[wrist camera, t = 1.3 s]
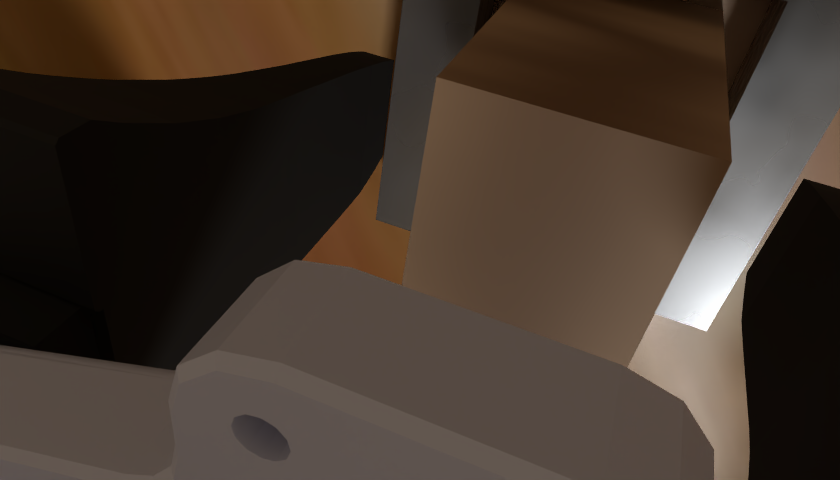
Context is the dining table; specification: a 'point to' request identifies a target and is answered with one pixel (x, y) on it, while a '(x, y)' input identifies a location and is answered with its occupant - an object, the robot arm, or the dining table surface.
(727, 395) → the dining table surface
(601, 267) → the square peg block
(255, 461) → the robot arm
